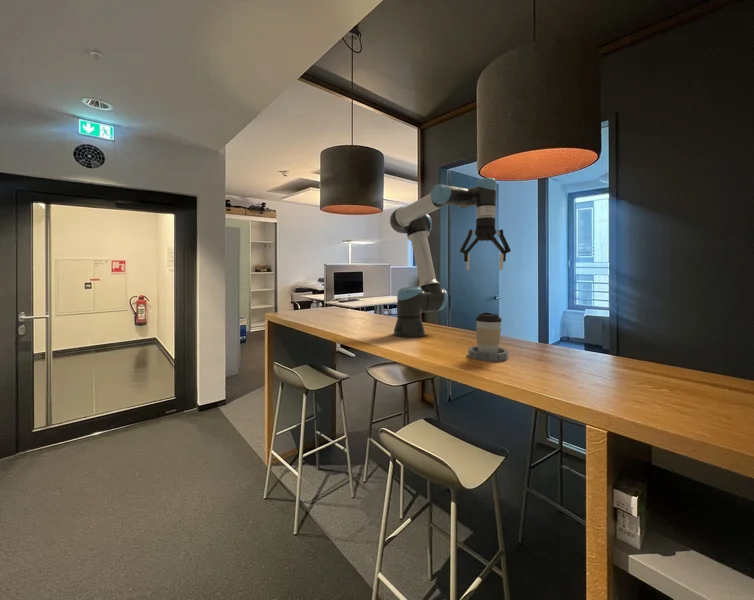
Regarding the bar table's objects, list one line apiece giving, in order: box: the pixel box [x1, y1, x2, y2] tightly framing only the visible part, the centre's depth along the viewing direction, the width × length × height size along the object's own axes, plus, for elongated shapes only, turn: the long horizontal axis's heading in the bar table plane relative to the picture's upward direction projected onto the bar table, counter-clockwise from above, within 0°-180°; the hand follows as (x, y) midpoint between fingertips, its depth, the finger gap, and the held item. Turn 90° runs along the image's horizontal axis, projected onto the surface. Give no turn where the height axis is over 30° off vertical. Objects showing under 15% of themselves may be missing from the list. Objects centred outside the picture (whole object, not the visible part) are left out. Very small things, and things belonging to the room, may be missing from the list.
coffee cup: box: [475, 312, 502, 354], centre depth 127 cm, size 9×9×15 cm
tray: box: [467, 345, 509, 362], centre depth 128 cm, size 14×14×2 cm
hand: (484, 269), depth 145 cm, fingers open, 13 cm apart
